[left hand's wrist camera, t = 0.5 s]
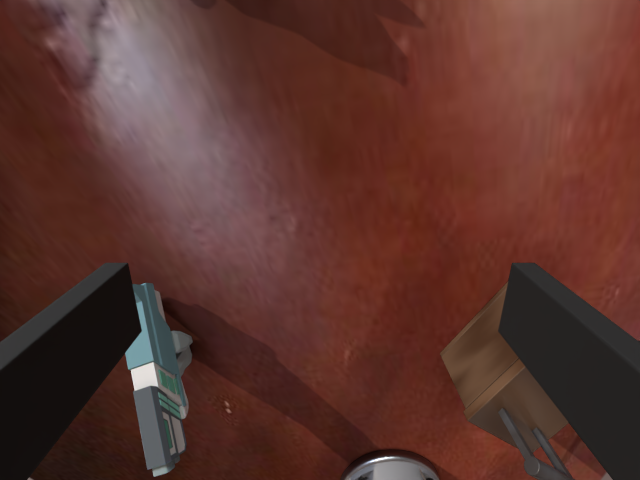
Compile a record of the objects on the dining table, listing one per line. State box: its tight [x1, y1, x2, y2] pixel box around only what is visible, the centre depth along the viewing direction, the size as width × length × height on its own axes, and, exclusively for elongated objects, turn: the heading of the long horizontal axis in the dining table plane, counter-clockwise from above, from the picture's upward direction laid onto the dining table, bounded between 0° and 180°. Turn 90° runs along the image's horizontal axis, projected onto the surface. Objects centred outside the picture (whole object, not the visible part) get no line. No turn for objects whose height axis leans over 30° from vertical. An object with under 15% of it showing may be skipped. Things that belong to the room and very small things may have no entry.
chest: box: [440, 282, 519, 409], centre depth 42 cm, size 15×9×9 cm, turn 147°
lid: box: [464, 359, 575, 480], centre depth 34 cm, size 16×9×8 cm, turn 147°
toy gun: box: [125, 283, 193, 477], centre depth 41 cm, size 4×19×10 cm
